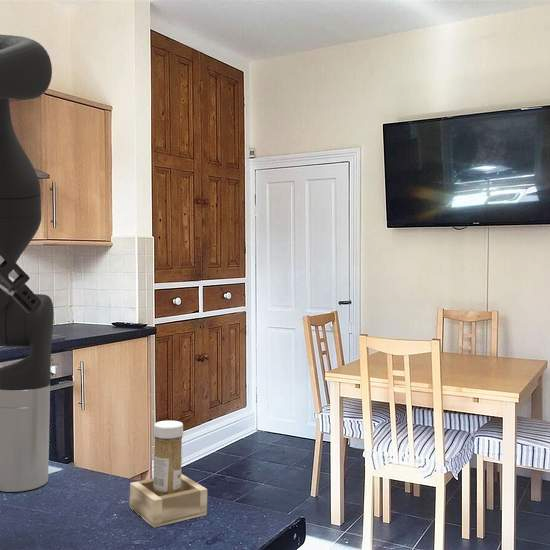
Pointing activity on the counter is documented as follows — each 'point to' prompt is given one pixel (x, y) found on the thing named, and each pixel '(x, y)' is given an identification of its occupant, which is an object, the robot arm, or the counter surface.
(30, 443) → the robot arm
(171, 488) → the sprinkles bottle
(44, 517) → the counter surface
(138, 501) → the socket block
